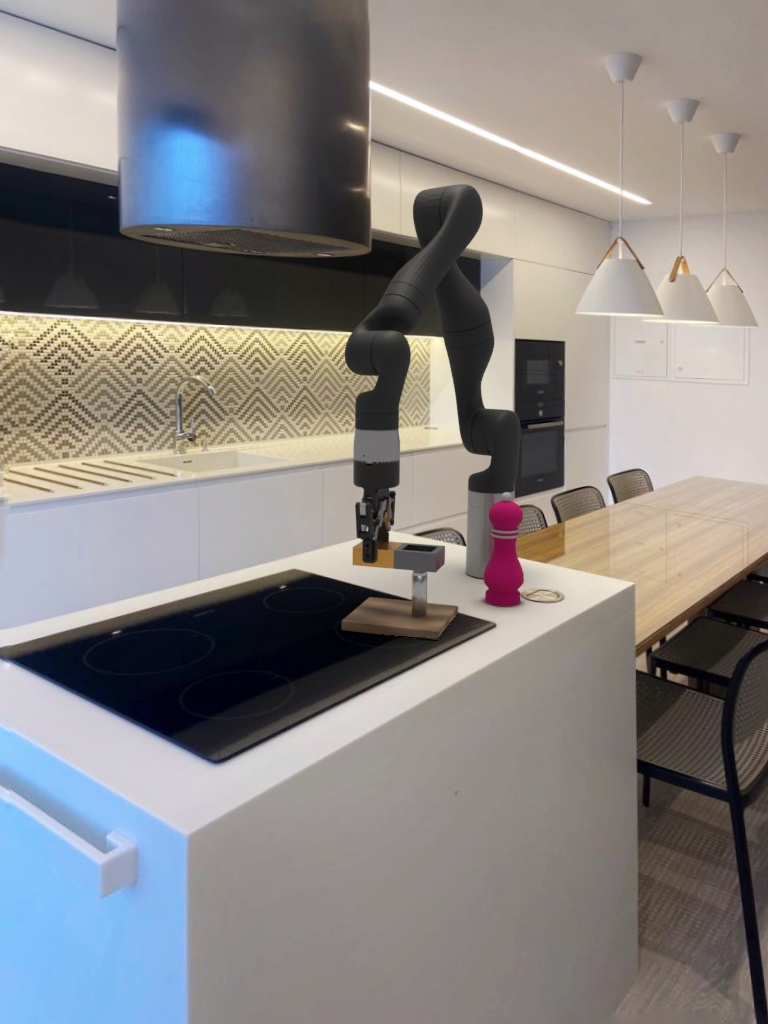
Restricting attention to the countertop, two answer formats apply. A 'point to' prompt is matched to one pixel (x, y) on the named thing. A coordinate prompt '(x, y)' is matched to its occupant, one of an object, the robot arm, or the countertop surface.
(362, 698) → the countertop surface
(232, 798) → the countertop surface
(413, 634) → the board
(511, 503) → the pepper mill
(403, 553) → the link
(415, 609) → the post
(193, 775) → the countertop surface
